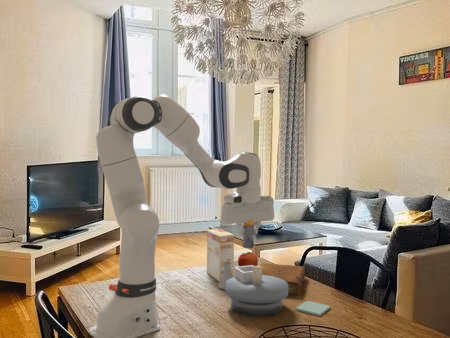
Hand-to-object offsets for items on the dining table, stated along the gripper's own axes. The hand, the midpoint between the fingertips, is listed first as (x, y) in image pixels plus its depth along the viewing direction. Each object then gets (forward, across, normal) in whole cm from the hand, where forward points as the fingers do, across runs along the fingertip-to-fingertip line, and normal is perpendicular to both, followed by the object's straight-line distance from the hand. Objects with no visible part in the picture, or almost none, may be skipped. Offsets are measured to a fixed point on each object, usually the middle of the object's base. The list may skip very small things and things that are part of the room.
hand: (248, 234), depth 161 cm
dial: (+19, 0, +7) cm, 21 cm away
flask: (+25, +1, -17) cm, 30 cm away
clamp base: (+25, 0, +7) cm, 26 cm away
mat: (+25, -17, +17) cm, 34 cm away
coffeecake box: (+25, -2, -31) cm, 40 cm away
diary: (+25, -20, -12) cm, 34 cm away
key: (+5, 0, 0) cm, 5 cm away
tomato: (+25, -18, -36) cm, 47 cm away
